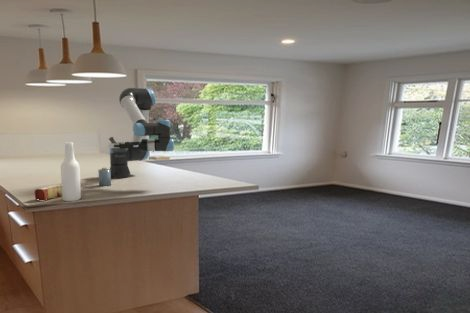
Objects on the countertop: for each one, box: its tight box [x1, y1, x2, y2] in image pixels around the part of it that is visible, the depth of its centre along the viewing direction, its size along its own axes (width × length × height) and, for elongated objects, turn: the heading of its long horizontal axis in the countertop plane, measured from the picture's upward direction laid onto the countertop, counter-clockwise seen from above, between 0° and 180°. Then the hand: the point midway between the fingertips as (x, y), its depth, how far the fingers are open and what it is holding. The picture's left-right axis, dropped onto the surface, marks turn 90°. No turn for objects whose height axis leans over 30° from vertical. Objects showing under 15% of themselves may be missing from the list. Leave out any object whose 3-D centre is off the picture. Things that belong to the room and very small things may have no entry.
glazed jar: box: [98, 167, 112, 187], centre depth 209 cm, size 7×7×11 cm
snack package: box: [34, 182, 62, 201], centre depth 181 cm, size 21×7×7 cm, turn 163°
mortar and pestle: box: [108, 136, 128, 157], centre depth 204 cm, size 11×9×12 cm
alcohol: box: [60, 141, 82, 202], centre depth 173 cm, size 9×9×30 cm
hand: (111, 144), depth 204 cm, fingers closed on mortar and pestle, 9 cm apart
